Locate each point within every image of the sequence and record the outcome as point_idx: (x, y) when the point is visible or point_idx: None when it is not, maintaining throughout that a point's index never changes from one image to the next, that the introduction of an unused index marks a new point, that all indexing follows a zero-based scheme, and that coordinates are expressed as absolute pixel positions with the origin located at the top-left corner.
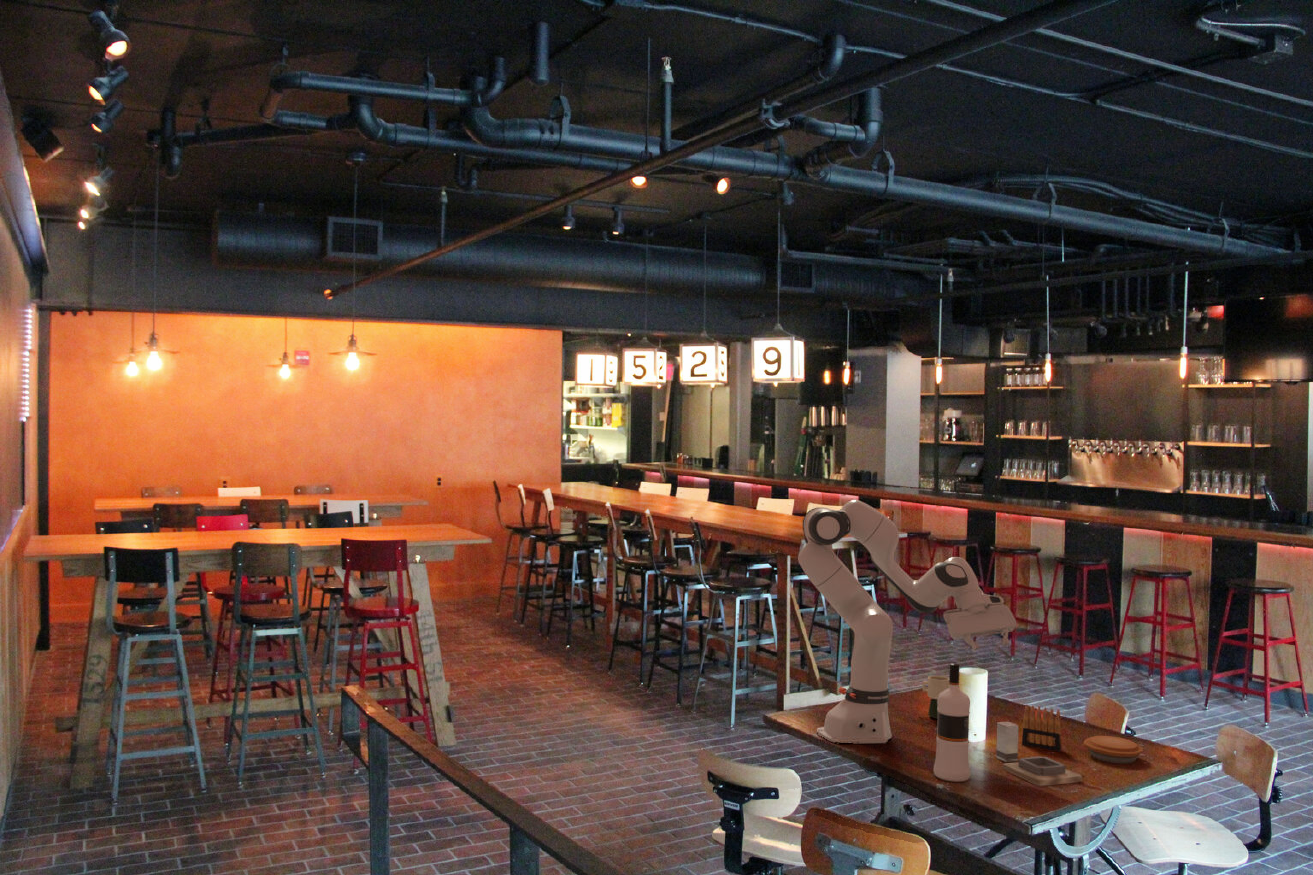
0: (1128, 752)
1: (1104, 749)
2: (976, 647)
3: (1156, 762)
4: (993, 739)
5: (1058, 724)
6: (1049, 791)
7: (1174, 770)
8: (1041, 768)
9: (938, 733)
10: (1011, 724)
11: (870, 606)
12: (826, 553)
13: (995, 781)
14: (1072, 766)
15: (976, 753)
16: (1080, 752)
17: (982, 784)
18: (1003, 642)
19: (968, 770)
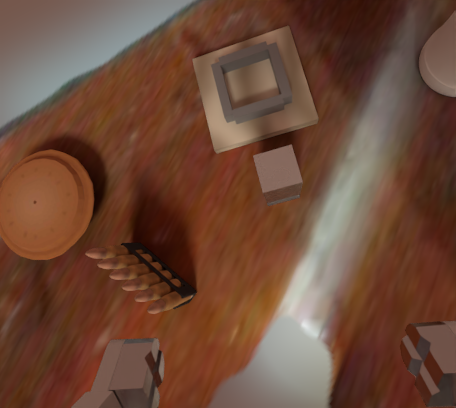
0: (44, 153)
1: (77, 169)
2: (441, 323)
3: None
4: (244, 337)
5: (111, 246)
6: (281, 8)
7: (5, 137)
8: (268, 45)
9: None
10: (269, 163)
11: None
12: None
13: (365, 49)
14: (165, 148)
15: (333, 228)
16: (102, 236)
17: (401, 29)
18: (153, 364)
19: (435, 32)
